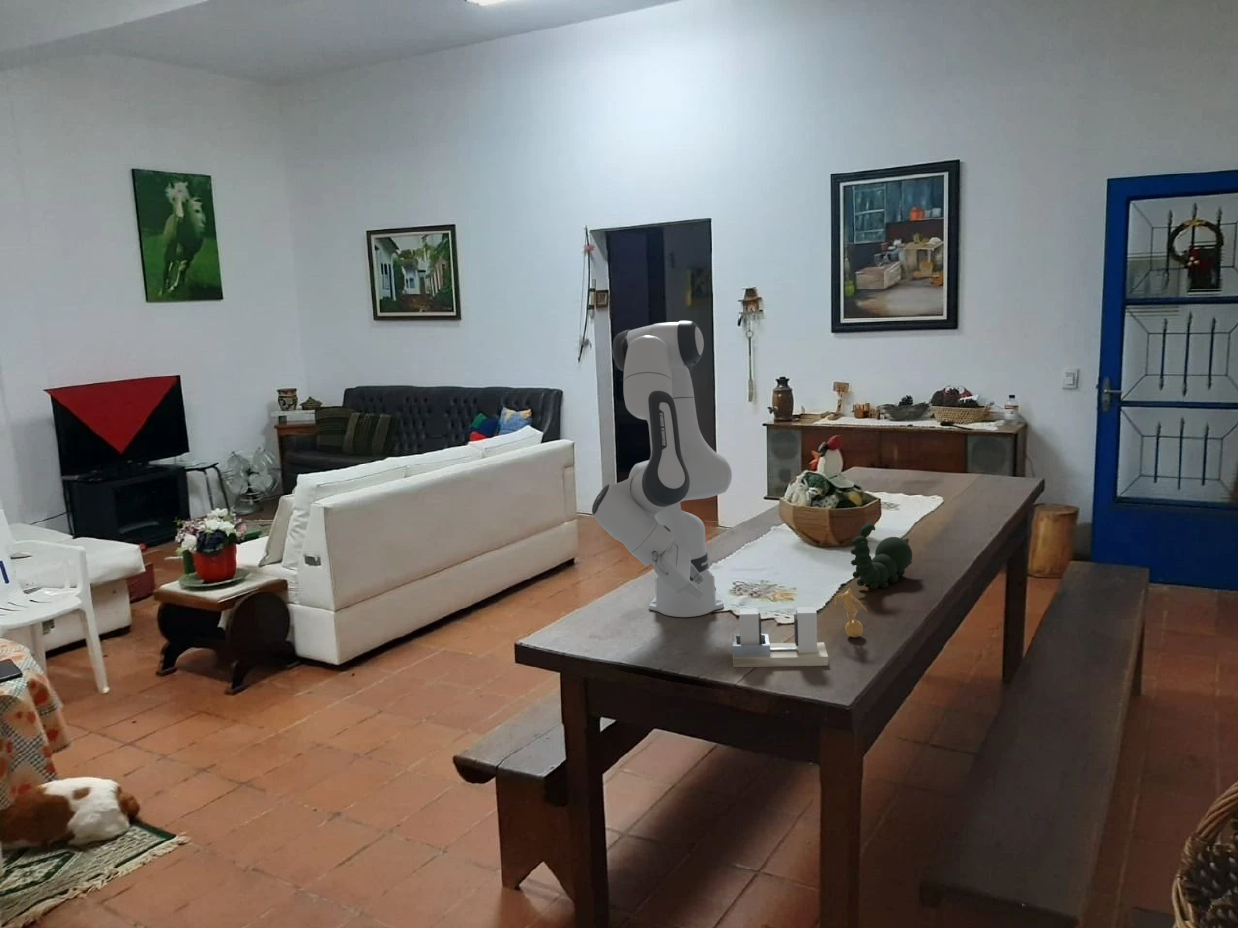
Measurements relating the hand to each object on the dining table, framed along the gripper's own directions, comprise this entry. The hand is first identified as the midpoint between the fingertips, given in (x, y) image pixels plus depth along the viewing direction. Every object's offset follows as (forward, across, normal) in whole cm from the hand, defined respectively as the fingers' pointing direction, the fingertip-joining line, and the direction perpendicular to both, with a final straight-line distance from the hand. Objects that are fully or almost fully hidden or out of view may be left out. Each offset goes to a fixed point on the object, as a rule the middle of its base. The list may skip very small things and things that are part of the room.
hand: (701, 588), depth 208 cm
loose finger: (+17, 0, +3) cm, 17 cm away
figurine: (+35, +10, -12) cm, 39 cm away
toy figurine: (+45, +48, -21) cm, 70 cm away
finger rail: (+23, 0, 0) cm, 23 cm away
